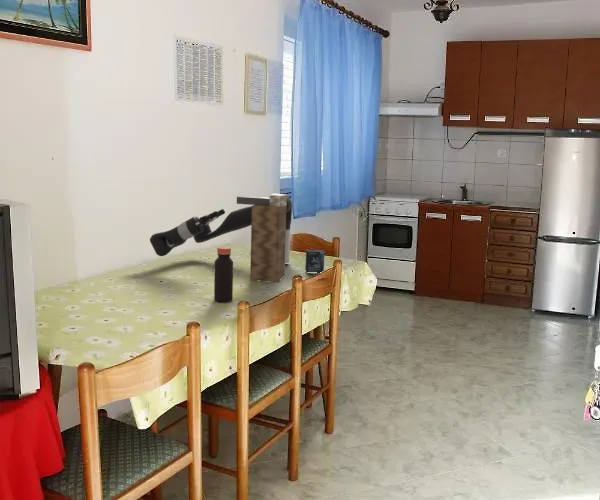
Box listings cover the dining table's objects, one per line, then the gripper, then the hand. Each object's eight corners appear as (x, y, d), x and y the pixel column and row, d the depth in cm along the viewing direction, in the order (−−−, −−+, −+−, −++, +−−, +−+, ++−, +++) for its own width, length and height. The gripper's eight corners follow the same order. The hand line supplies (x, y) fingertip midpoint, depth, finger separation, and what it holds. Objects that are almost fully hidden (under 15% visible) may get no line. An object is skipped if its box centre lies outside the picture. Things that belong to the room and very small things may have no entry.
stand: (250, 280, 273) (252, 194, 266) (258, 274, 284) (260, 192, 278) (278, 282, 270) (281, 196, 264) (285, 276, 282) (287, 193, 275)
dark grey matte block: (236, 203, 273) (236, 196, 272) (239, 202, 277) (239, 196, 276) (279, 206, 269) (279, 199, 268) (282, 205, 273) (282, 198, 272)
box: (306, 274, 288) (307, 251, 286) (304, 272, 294) (305, 249, 292) (323, 274, 289) (324, 251, 288) (321, 272, 295) (322, 249, 293)
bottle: (229, 303, 235) (230, 250, 231) (211, 301, 236) (212, 248, 232) (234, 299, 241) (235, 246, 238) (217, 297, 242) (218, 245, 239)
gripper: (180, 222, 274) (211, 205, 270) (192, 218, 288) (222, 202, 284) (188, 238, 275) (219, 221, 270) (200, 233, 288) (230, 217, 284)
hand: (220, 211), depth 277 cm, fingers open, 8 cm apart
